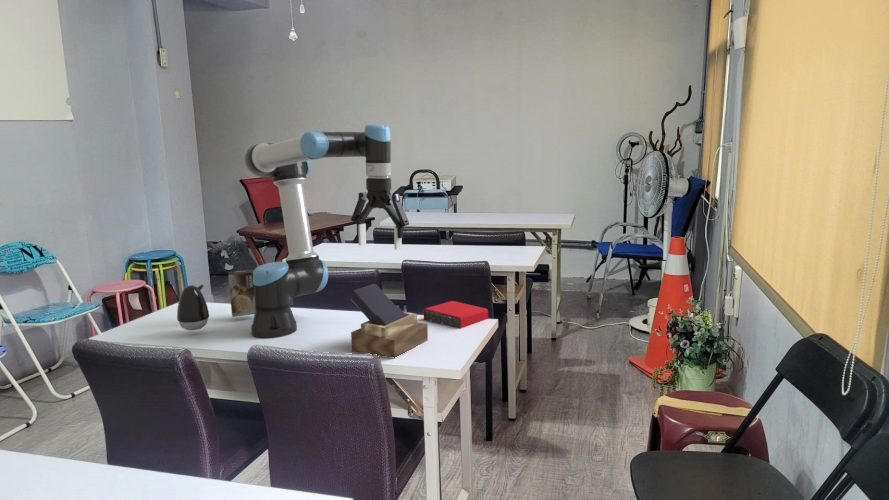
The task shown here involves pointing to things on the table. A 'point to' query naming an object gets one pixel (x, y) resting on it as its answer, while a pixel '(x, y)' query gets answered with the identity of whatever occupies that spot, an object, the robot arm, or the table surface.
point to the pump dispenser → (192, 308)
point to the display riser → (390, 336)
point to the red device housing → (455, 314)
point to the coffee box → (241, 292)
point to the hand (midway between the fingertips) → (380, 246)
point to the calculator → (376, 305)
